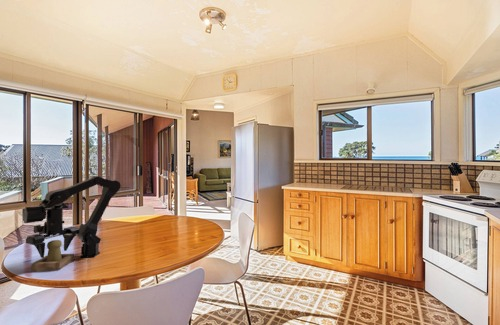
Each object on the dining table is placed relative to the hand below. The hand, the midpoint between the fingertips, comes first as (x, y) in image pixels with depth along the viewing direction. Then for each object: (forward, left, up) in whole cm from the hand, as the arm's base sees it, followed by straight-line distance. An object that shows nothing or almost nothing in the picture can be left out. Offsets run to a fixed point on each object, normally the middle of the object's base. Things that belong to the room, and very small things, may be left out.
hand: (54, 254), depth 110 cm
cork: (0, 0, -5) cm, 5 cm away
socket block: (0, 0, -5) cm, 5 cm away
